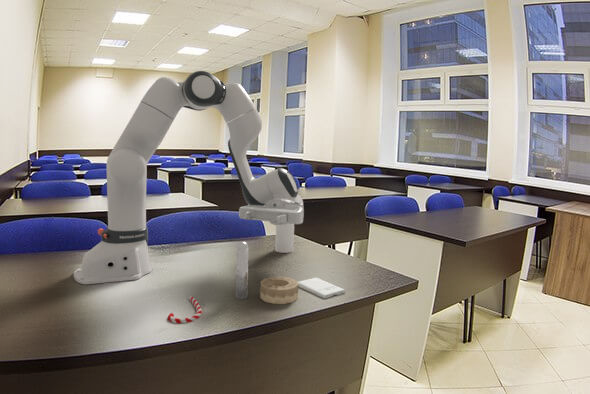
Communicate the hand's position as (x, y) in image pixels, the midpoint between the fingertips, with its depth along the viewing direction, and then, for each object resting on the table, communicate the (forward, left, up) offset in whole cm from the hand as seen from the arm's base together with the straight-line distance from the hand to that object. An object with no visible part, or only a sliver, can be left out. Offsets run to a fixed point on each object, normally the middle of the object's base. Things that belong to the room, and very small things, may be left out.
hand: (261, 218), depth 124 cm
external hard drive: (+13, -13, -21) cm, 28 cm away
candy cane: (-26, -8, -21) cm, 34 cm away
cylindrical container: (+27, +28, -20) cm, 44 cm away
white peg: (-10, -7, -20) cm, 23 cm away
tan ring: (-1, -12, -20) cm, 23 cm away
